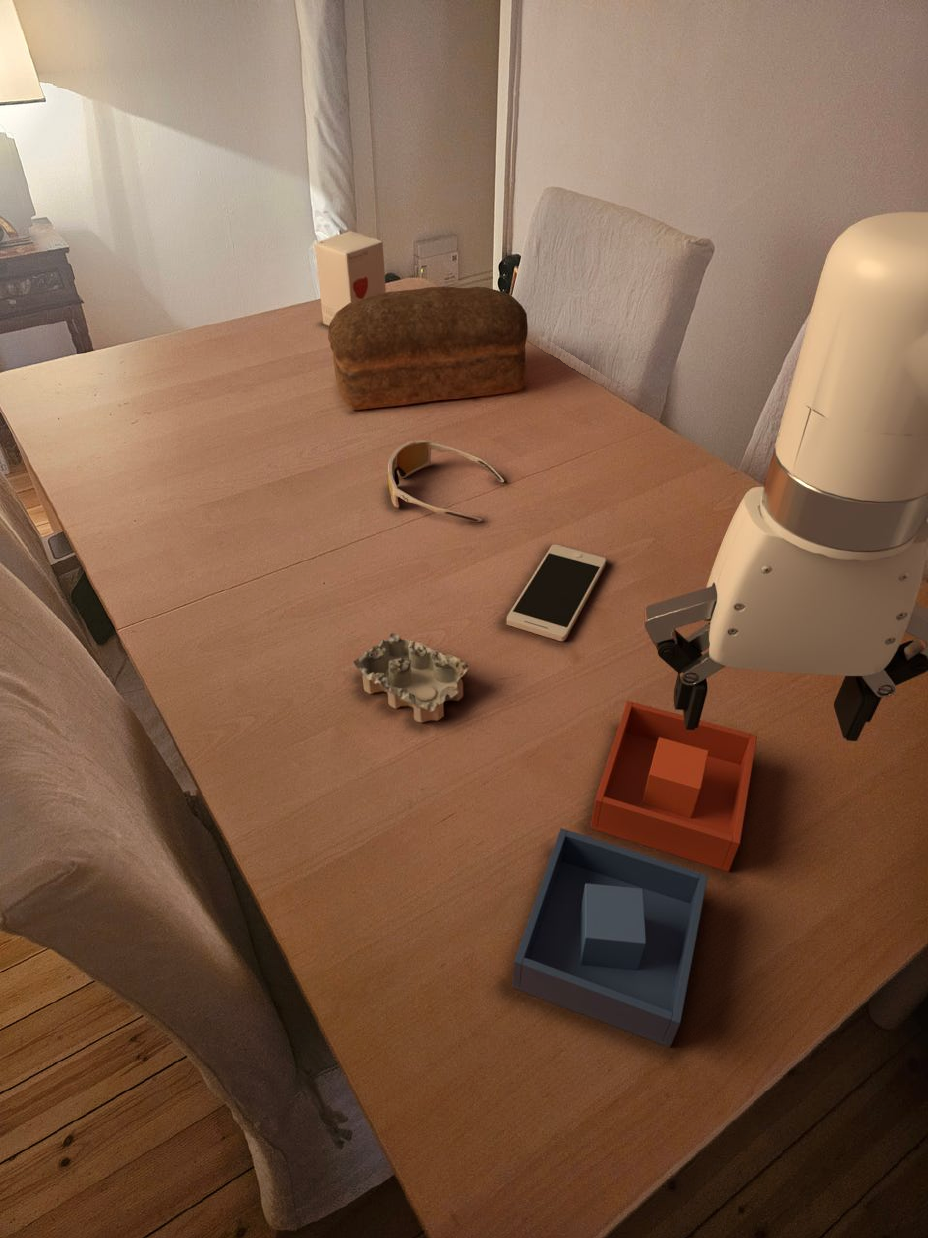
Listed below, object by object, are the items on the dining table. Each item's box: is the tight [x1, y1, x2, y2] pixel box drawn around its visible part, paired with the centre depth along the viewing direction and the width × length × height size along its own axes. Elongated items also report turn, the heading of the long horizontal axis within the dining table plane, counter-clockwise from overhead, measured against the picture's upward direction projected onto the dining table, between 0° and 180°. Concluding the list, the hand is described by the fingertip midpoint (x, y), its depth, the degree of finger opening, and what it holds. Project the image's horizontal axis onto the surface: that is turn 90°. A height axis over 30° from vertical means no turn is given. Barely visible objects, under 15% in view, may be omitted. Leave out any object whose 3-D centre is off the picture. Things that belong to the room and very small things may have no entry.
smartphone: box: [506, 543, 607, 642], centre depth 97 cm, size 7×16×1 cm, turn 155°
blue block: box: [580, 883, 646, 970], centre depth 64 cm, size 4×4×4 cm
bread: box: [327, 286, 529, 411], centre depth 132 cm, size 15×32×16 cm, turn 103°
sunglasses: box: [387, 439, 505, 523], centre depth 113 cm, size 14×15×5 cm
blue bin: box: [511, 827, 709, 1048], centre depth 64 cm, size 12×12×4 cm
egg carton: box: [353, 633, 469, 724], centre depth 85 cm, size 11×8×4 cm
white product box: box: [314, 230, 387, 327], centre depth 151 cm, size 9×9×15 cm
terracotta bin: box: [590, 700, 758, 873], centre depth 75 cm, size 12×12×4 cm
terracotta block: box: [642, 737, 708, 818], centre depth 74 cm, size 4×4×4 cm
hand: (765, 718), depth 52 cm, fingers open, 9 cm apart
